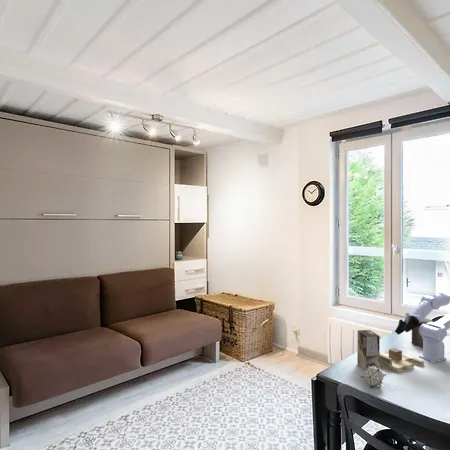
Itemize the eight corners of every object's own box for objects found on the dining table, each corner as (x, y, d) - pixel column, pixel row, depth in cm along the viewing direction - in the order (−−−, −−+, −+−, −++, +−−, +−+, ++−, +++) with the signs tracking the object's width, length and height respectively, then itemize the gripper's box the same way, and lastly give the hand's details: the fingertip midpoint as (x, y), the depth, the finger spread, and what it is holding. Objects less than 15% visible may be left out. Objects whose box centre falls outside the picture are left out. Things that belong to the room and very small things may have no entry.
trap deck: (393, 354, 176) (393, 345, 176) (423, 365, 161) (423, 355, 161) (367, 360, 167) (367, 350, 167) (397, 372, 153) (397, 362, 153)
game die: (378, 396, 139) (390, 383, 133) (357, 387, 141) (368, 373, 135) (378, 378, 146) (389, 364, 140) (358, 369, 148) (368, 355, 142)
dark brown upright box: (410, 344, 189) (410, 317, 189) (412, 340, 197) (413, 313, 197) (431, 349, 184) (431, 320, 184) (432, 343, 192) (433, 316, 192)
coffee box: (380, 372, 153) (380, 336, 153) (366, 373, 153) (366, 336, 153) (369, 364, 162) (370, 329, 162) (356, 364, 162) (356, 329, 162)
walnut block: (394, 356, 167) (394, 348, 167) (402, 359, 163) (402, 350, 163) (388, 357, 165) (388, 349, 165) (396, 360, 162) (396, 352, 162)
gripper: (404, 310, 175) (387, 327, 171) (420, 303, 162) (402, 322, 158) (415, 321, 173) (398, 339, 169) (433, 316, 160) (414, 335, 156)
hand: (400, 331), depth 163 cm, fingers open, 7 cm apart
